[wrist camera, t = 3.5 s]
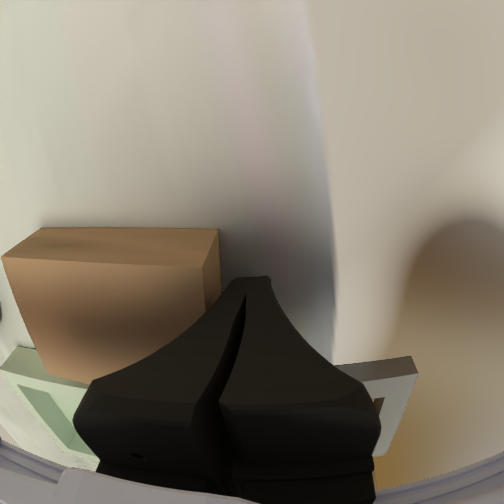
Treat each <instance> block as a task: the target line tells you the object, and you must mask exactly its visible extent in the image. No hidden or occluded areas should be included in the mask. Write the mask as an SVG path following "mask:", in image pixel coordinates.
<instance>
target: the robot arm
mask: <svg viewBox="0 0 504 504" xmlns="http://www.w3.org/2000/svg"><path fill="white" fill-rule="evenodd" d="M72 421H73V425H74V428H75V430H76V432H77V433H78V435H79V436H80V438H81V439H82V440H83V441H84V442H85V444H86V445H87V446H88V447H89V448H90V449H91V450H92V452H93V453H94V454H95V455H96V456H97V457H98V458H99V459H100V462H99V465H98V467H97V470H96V472H93V471H90V470H84V469H79V468H74V467H72V468H68V467H66V466H63V465H60V464H57V463H54V462H52V461H49V460H47V459H44V458H42V457H39V456H37V455H34V454H32V453H30V452H27V451H25V450H23V449H21V448H18V447H16V446H14V445H12V444H10V443H8V442H6V441H4V440H2V439H1V437H0V504H504V451H503V452H501V453H499V454H496V455H494V456H492V457H489V458H487V459H484V460H482V461H479V462H477V463H474V464H471V465H468V466H466V467H463V468H460V469H457V470H454V471H451V472H448V473H445V474H442V475H438V476H435V477H432V478H428V479H424V480H421V481H417V482H413V483H409V484H405V485H400V486H396V487H391V488H386V489H381V490H376V491H375V487H374V481H373V474H372V472H373V471H374V462H373V456H372V454H373V452H374V449H375V447H376V445H377V442H378V440H379V437H380V434H381V427H382V426H381V422H380V418H379V415H378V412H377V410H376V407H375V405H374V403H373V401H372V399H371V397H370V395H369V393H368V391H367V389H366V388H365V386H364V384H363V383H361V382H360V381H358V380H356V379H354V378H353V377H351V376H349V375H348V374H346V373H344V372H342V371H341V370H339V369H338V368H336V367H335V366H334V365H332V364H331V363H330V362H328V361H327V360H326V359H325V358H324V357H323V356H321V355H320V354H319V353H318V352H317V351H316V350H315V349H313V348H312V347H311V346H310V345H309V344H308V343H307V342H306V341H305V339H304V338H303V337H302V336H301V335H300V334H299V333H298V331H297V330H296V329H295V328H294V326H293V325H292V324H291V322H290V321H289V319H288V318H287V316H286V315H285V313H284V312H283V310H282V308H281V306H280V305H279V303H278V301H277V299H276V297H275V295H274V292H273V290H272V287H271V279H270V278H269V277H267V276H262V277H243V278H235V279H234V280H233V281H232V282H231V283H230V284H229V286H228V287H227V288H226V289H225V290H224V292H223V293H222V294H221V295H220V297H219V298H218V299H217V300H216V301H215V302H214V303H213V304H212V306H211V307H210V308H209V309H208V310H207V311H206V312H205V313H204V314H203V315H202V316H201V317H200V318H199V319H198V320H197V321H196V322H195V323H194V324H193V325H192V326H190V327H189V328H188V329H187V330H186V331H184V332H183V333H182V334H181V335H179V336H178V337H177V338H175V339H174V340H173V341H171V342H170V343H168V344H167V345H165V346H163V347H162V348H160V349H159V350H157V351H156V352H154V353H153V354H151V355H149V356H147V357H145V358H144V359H142V360H140V361H138V362H136V363H134V364H132V365H130V366H128V367H125V368H123V369H121V370H118V371H116V372H113V373H110V374H108V375H105V376H103V377H100V378H97V379H94V380H92V382H91V383H90V385H89V387H88V389H87V391H86V392H85V394H84V396H83V398H82V400H81V402H80V404H79V406H78V408H77V409H76V411H75V413H74V416H73V419H72Z"/></svg>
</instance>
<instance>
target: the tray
mask: <svg viewBox="0 0 504 504" xmlns="http://www.w3.org/2000/svg"><path fill="white" fill-rule="evenodd" d="M0 371H1V373H2V374H3V376H4V377H5V379H6V380H7V382H8V383H9V385H10V386H11V387H12V389H13V390H14V392H15V393H16V394H17V396H18V397H19V399H20V400H21V401H22V403H23V404H24V405H25V406H26V408H27V409H28V410H29V412H30V413H31V414H32V415H33V417H34V418H35V419H36V420H37V422H38V423H39V424H40V425H41V426H42V428H43V429H44V430H45V431H46V432H47V433H48V435H49V436H50V437H51V438H52V439H53V440H54V441H55V442H56V444H57V445H58V446H59V447H60V448H61V449H62V450H63V451H64V452H65V453H68V454H71V455H74V456H78V457H81V458H84V459H88V460H91V461H95V462H100V459H99V458H98V457H97V456H96V455H95V454H94V453H93V452H92V450H91V449H90V448H89V447H88V446H87V445H86V444H85V442H84V441H83V440H82V439H81V438H80V436H79V435H78V433H77V432H76V430H75V428H74V425H73V421H72V419H73V416H74V413H75V411H76V409H77V408H78V406H79V404H80V402H81V400H82V398H83V396H84V394H85V392H86V391H87V389H88V387H89V385H90V384H85V383H81V382H77V381H73V380H70V379H66V378H62V377H58V376H55V375H51V374H48V372H47V370H46V368H45V366H44V364H43V362H42V360H41V358H40V356H39V354H38V352H37V350H36V349H31V348H25V347H19V346H17V347H16V348H15V350H14V351H13V352H12V353H11V355H10V356H9V357H8V358H7V360H6V361H5V362H4V364H3V365H2V366H1V367H0Z"/></svg>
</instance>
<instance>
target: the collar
mask: <svg viewBox="0 0 504 504" xmlns="http://www.w3.org/2000/svg"><path fill="white" fill-rule="evenodd" d="M334 366H335V367H336V368H338V369H339V370H341V371H342V372H344V373H346V374H348V375H349V376H351V377H353V378H354V379H356V380H358V381H360V382H361V383H363V384H364V386H365V388H366V389H367V391H368V393H369V395H370V397H371V399H375V400H374V405H375V407H376V410H377V412H378V415H379V418H380V422H381V426H382V427H381V434H380V437H379V440H378V442H377V445H376V447H375V449H374V452H373V454H372V456H373V457H375V456H381V455H385V454H386V452H387V450H388V447H389V445H390V443H391V441H392V439H393V437H394V434H395V432H396V429H397V427H398V425H399V423H400V420H401V418H402V416H403V413H404V410H405V408H406V405H407V403H408V400H409V398H410V395H411V392H412V390H413V387H414V384H415V381H416V378H417V375H418V371H417V369H416V367H415V364H414V362H413V359H412V357H411V356H406V357H400V358H393V359H386V360H379V361H371V362H363V363H354V364H344V365H334Z"/></svg>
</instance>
